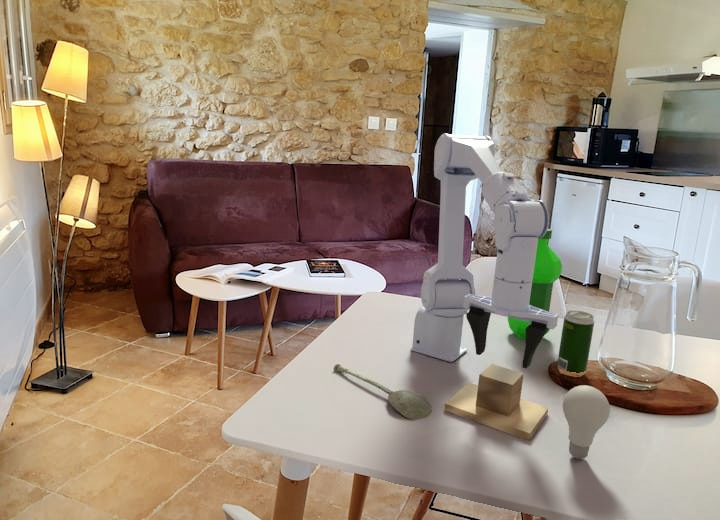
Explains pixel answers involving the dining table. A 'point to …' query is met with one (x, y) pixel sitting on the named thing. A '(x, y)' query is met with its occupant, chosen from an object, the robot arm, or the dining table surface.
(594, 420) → the lightbulb
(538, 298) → the plastic bottle
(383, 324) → the dining table surface
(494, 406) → the tan cube
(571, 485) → the dining table surface
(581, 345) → the beer can
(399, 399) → the soupspoon
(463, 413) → the oak board
